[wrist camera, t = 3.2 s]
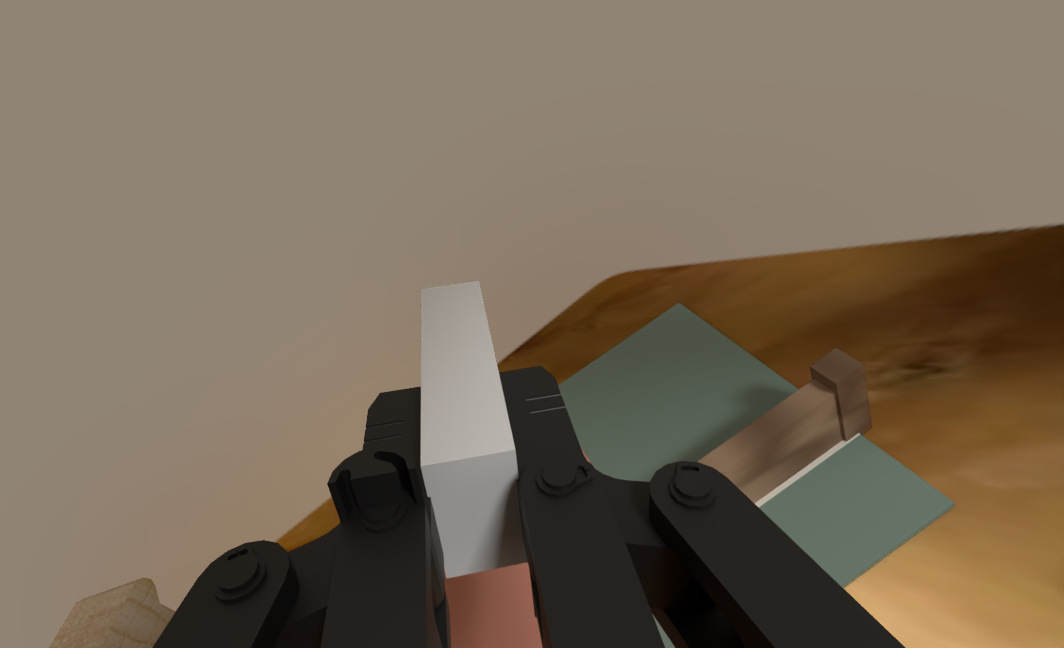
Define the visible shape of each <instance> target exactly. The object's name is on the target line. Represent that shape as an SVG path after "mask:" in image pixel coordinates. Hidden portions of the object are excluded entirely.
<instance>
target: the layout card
mask: <svg viewBox="0 0 1064 648" xmlns="http://www.w3.org/2000/svg"><path fill="white" fill-rule="evenodd" d="M558 387H559V390H560V393H561V396H562V398H563V401H564V403H565V408H566V409H567V411H568V414H569V417H570V420H571V422H572V425H573V428H574V430H575V433H576V436H577V439H578V441H579V444H580V447H581V449H582V450H583V452H584V453H585V455H586V456H587V458H588V459H589V461H590V462H591V464H592V465H593V466H594V468H595V469H596V470H598V471H600V472H601V473H603V474H605V475H608V476H610V477H613V478H617V479H623V480H631V481H644V482H650V480H651V479H652V477H653V475H654V474H655V472H656V471H657V470H659V469H660V468H662V467H663V466H665V465H666V464H670V463H674V462H679V461H689V462H698V461H699V460H700V459H702V458H703V457H705V456H706V455H707V454H709V453H710V452H712V451H713V450H715V449H716V448H717V447H719V446H720V445H722V444H723V443H724V442H726V441H727V440H729V439H730V438H731V437H733V436H734V435H736V434H737V433H739V432H740V431H741V430H743V429H744V428H746V427H747V426H748V425H750V424H751V423H753V422H754V421H756V420H757V419H758V418H760V417H761V416H763V415H764V414H765V413H767V412H768V411H770V410H771V409H772V408H774V407H775V406H777V405H778V404H780V403H781V402H782V401H784V400H785V399H787V398H788V397H789V396H791V395H792V394H794V393H795V392H796V391H798V390H799V389H797V388H796V387H795V386H793V385H792V384H791V383H789V382H788V381H786V380H785V379H784V378H782V377H781V376H780V375H778V374H777V373H775V372H774V371H773V370H771V369H770V368H769V367H767V366H766V365H764V364H763V363H762V362H760V361H759V360H758V359H756V358H755V357H753V356H752V355H751V354H749V353H748V352H747V351H745V350H744V349H742V348H741V347H740V346H738V345H737V344H736V343H734V342H733V341H731V340H730V339H729V338H727V337H726V336H725V335H723V334H722V333H720V332H719V331H718V330H716V329H715V328H714V327H712V326H711V325H709V324H708V323H707V322H705V321H704V320H702V319H701V318H700V317H698V316H697V315H696V314H694V313H693V312H691V311H690V310H689V309H687V308H686V307H685V306H683V305H682V304H680V303H678V304H676V305H675V306H673V307H672V308H670V309H669V310H667V311H666V312H664V313H663V314H661V315H660V316H659V317H657V318H656V319H654V320H653V321H651V322H650V323H648V324H647V325H645V326H644V327H643V328H641V329H640V330H638V331H637V332H635V333H634V334H632V335H631V336H629V337H628V338H626V339H625V340H624V341H622V342H621V343H619V344H618V345H616V346H615V347H613V348H612V349H610V350H609V351H608V352H606V353H605V354H603V355H602V356H600V357H599V358H597V359H596V360H594V361H593V362H591V363H590V364H589V365H587V366H586V367H584V368H583V369H581V370H580V371H578V372H577V373H575V374H574V375H573V376H571V377H570V378H568V379H567V380H565V381H564V382H562V383H561V384H559V385H558ZM755 505H756V506H758V507H759V508H760V509H761V510H762V511H763V512H764V513H765V514H766V515H767V516H768V517H769V518H770V519H771V520H772V521H773V522H774V523H775V524H776V525H777V526H778V527H779V528H781V529H782V530H783V531H784V532H785V533H786V534H787V535H788V536H789V537H790V538H791V539H792V540H793V541H794V542H795V543H796V544H797V545H798V546H799V547H800V548H801V549H803V550H804V551H805V552H806V553H807V554H808V555H809V556H810V557H811V558H812V559H813V560H814V561H815V562H816V563H817V564H818V565H819V566H820V567H821V568H822V569H823V570H824V571H826V572H827V573H828V574H829V575H830V576H831V577H832V578H833V579H834V580H835V581H836V582H837V583H838V584H839V585H840V586H841V587H842V588H844V587H846V586H847V585H848V584H850V583H851V582H852V581H854V580H855V579H856V578H858V577H859V576H860V575H862V574H863V573H865V572H866V571H867V570H869V569H870V568H871V567H873V566H874V565H875V564H877V563H878V562H879V561H881V560H882V559H883V558H885V557H886V556H888V555H889V554H890V553H892V552H893V551H894V550H896V549H897V548H898V547H900V546H901V545H902V544H904V543H905V542H907V541H908V540H909V539H911V538H912V537H913V536H915V535H916V534H917V533H919V532H920V531H921V530H923V529H924V528H925V527H927V526H928V525H930V524H931V523H932V522H934V521H935V520H936V519H938V518H939V517H940V516H942V515H943V514H944V513H946V512H947V511H949V510H950V509H951V508H953V507H954V506H955V503H954V502H953V501H952V500H950V499H949V498H947V497H946V496H945V495H943V494H942V493H941V492H939V491H938V490H936V489H935V488H934V487H932V486H931V485H930V484H928V483H927V482H925V481H924V480H923V479H921V478H920V477H919V476H917V475H916V474H914V473H913V472H912V471H910V470H909V469H908V468H906V467H905V466H903V465H902V464H901V463H899V462H898V461H897V460H895V459H894V458H892V457H891V456H890V455H888V454H887V453H886V452H884V451H883V450H881V449H880V448H879V447H877V446H876V445H875V444H873V443H872V442H870V441H869V440H868V439H866V438H865V437H864V436H862V435H861V434H860V433H858V434H857V435H855V436H854V437H852V438H851V439H850V440H848V441H847V442H846V441H845V440H842V441H841V442H840V443H838V444H837V445H835V446H834V447H833V448H831V449H830V450H828V451H827V452H826V453H824V454H823V455H822V456H820V457H819V458H817V459H816V460H815V461H813V462H812V463H810V464H809V465H808V466H806V467H805V468H803V469H802V470H801V471H799V472H798V473H796V474H795V475H794V476H792V477H791V478H790V479H788V480H787V481H785V482H784V483H783V484H781V485H780V486H778V487H777V488H776V489H774V490H773V491H771V492H770V493H769V494H767V495H766V496H764V497H763V498H762V499H760V500H759V501H758V502H756V503H755ZM653 617H654V615H653ZM654 620H655V622H656V625H657V627H658V630H659V633H660V635H661V638H662V641H663V643H664V646H665V648H675V647H674V645H673V644H672V642H671V641H670V639H669V638H668V636H667V635H666V633H665V632H664V630H663V629H662V627H661V626H660V624H659V623H658V621H657V620H656V618H655V617H654Z"/></svg>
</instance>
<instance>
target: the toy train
mask: <svg viewBox="0 0 1064 648" xmlns="http://www.w3.org/2000/svg"><path fill="white" fill-rule="evenodd" d="M175 612H176V611H173V610H171V609H169V608H167V607H165V606H163V605H161V604H159V599H158V595H157V591H156V587H155V585H154V583H153V582H152V580H151V579H148V578H142V579H139V580H136V581H133V582H131V583H127V584H125V585H122V586H119V587H116V588H113V589H110V590H108V591H105V592H102V593H99V594H96V595H93V596H91V597H88V598H85V599H82V600H81V601H79V602H77V603H76V604H75V606H74V607H73V609H72V611H71V612H70V614H69V616H68V617H67V619H66V620H65V622H64V624H63V625H62V627H61V629H60V631H59V632H58V634H57V636H56V637H55V639H54V641H53V642H52V644H51V645H50V647H49V648H152V647H153V646H154V644H155V643H156V641H157V640H158V638H159V636H160V635H161V633H162V632H163V630H164V629H165V627H166V626H167V624H168V623H169V621H170V620H171V618H172V617H173V615H174V614H175Z"/></svg>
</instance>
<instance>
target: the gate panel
mask: <svg viewBox="0 0 1064 648" xmlns="http://www.w3.org/2000/svg"><path fill="white" fill-rule="evenodd" d="M582 452H583V450H582ZM583 454H584V456H585V458H586V460H587V461H588V462H590V461H589V459H588V458H587V456H586V455H585V453H584V452H583ZM590 463H591V462H590ZM444 576H445V591H446V596H447V600H448V604H449V610H450V631H451V648H543V647H542V642H541V637H540V631H539V626H538V621H537V617H535V614H534V605H533V597H532V588H531V579H530V571H529V565H528V562H527V563H522V564H517V565H512V566H507V567H502V568H497V569H492V570H487V571H482V572H477V573H472V574H467V575H462V576H457V577H452V578H446V574H445V569H444Z"/></svg>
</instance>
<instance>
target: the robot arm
mask: <svg viewBox="0 0 1064 648" xmlns="http://www.w3.org/2000/svg"><path fill="white" fill-rule="evenodd" d="M327 484H328V487H329V490H330V493H331V496H332V498H333V501H334V504H335V507H336V510H337V513H338V515H339V518H340V521H341V523H340V524H339V525H338V526H336V527H335V528H334V529H332V530H331V531H330V532H329V533H327V534H325V535H323V536H322V537H320V538H318V539H316V540H314V541H312V542H310V543H307V544H305V545H303V546H301V547H298V548H296V549H294V550H292V551H289V552H287V551H286V550H285V549H284V548H283V547H281V546H280V545H279V544H278V543H275V542H270V541H265V540H262V541H256V542H249V543H245V544H243V545H240V546H238V547H236V548H233V549H231V550H229V551H227V552H226V553H224V554H223V555H221V556H220V557H219V558H217V559H216V560H215V561H213V562H212V563H211V564H210V565H209V566H208V567H207V568H206V569H205V571H204V572H203V573H202V574H201V575H200V576H199V577H198V579H197V580H196V582H195V583H194V585H193V587H192V588H191V590H190V591H189V592H188V594H187V596H186V597H185V598H184V600H183V602H182V603H181V605H180V606H179V608H178V609H177V611H176V612H175V614H174V615H173V617H172V618H171V620H170V621H169V623H168V624H167V626H166V627H165V629H164V630H163V632H162V633H161V635H160V636H159V638H158V640H157V641H156V643H155V644H154V646H153V647H152V648H451V631H450V610H449V604H448V600H447V596H446V591H445V576H444V569H445V574H446V578H452V577H457V576H462V575H467V574H472V573H477V572H482V571H487V570H492V569H497V568H502V567H507V566H512V565H517V564H522V563H527V562H528V565H529V571H530V579H531V588H532V597H533V605H534V614H535V617H537V621H538V626H539V631H540V637H541V642H542V647H543V648H665V646H664V643H663V641H662V638H661V635H660V633H659V630H658V627H657V625H656V622H655V620H654V617H655V618H656V620H657V621H658V623H659V624H660V626H661V627H662V629H663V630H664V632H665V633H666V635H667V636H668V638H669V639H670V641H671V642H672V644H673V645H674V647H675V648H905V647H904V646H903V645H902V644H901V643H900V642H899V641H898V640H897V639H896V638H895V637H894V636H892V635H891V634H890V633H889V632H888V631H887V630H886V629H885V628H884V627H883V626H882V625H881V624H880V623H879V622H878V621H877V620H876V619H875V618H874V617H873V616H872V615H871V614H869V613H868V612H867V611H866V610H865V609H864V608H863V607H862V606H861V605H860V604H859V603H858V602H857V601H856V600H855V599H854V598H853V597H852V596H851V595H850V594H849V593H847V592H846V591H845V590H844V589H843V588H842V587H841V586H840V585H839V584H838V583H837V582H836V581H835V580H834V579H833V578H832V577H831V576H830V575H829V574H828V573H827V572H826V571H824V570H823V569H822V568H821V567H820V566H819V565H818V564H817V563H816V562H815V561H814V560H813V559H812V558H811V557H810V556H809V555H808V554H807V553H806V552H805V551H804V550H803V549H801V548H800V547H799V546H798V545H797V544H796V543H795V542H794V541H793V540H792V539H791V538H790V537H789V536H788V535H787V534H786V533H785V532H784V531H783V530H782V529H781V528H779V527H778V526H777V525H776V524H775V523H774V522H773V521H772V520H771V519H770V518H769V517H768V516H767V515H766V514H765V513H764V512H763V511H762V510H761V509H760V508H759V507H758V506H756V505H755V504H754V503H753V502H752V501H751V500H750V499H749V498H748V497H747V496H746V495H745V494H744V493H743V492H742V491H741V490H740V489H739V488H738V487H737V486H736V485H735V484H733V483H732V482H731V481H730V480H729V479H728V478H727V477H726V476H725V475H723V474H722V473H720V472H719V471H718V470H716V469H715V468H713V467H710V466H707V465H705V464H702V463H699V462H689V461H679V462H674V463H670V464H666V465H665V466H663V467H662V468H660V469H659V470H657V471H656V472H655V474H654V475H653V477H652V479H651V480H650V482H644V481H631V480H623V479H617V478H613V477H610V476H608V475H605V474H603V473H601V472H600V471H598V470H596V469H595V468H594V466H593V465H592V464H591V463H590V462H588V461H587V460H586V458H585V456H584V454H583V452H582V449H581V447H580V444H579V441H578V439H577V436H576V433H575V430H574V428H573V425H572V422H571V420H570V417H569V414H568V411H567V409H566V408H565V403H564V401H563V398H562V396H561V393H560V390H559V387H558V384H557V382H556V379H555V377H554V376H552V375H551V374H550V373H549V372H548V371H546V370H545V369H544V368H543V367H542V366H538V367H531V368H525V369H519V370H512V371H506V372H500V373H499V371H498V366H497V362H496V357H495V353H494V348H493V343H492V339H491V334H490V329H489V325H488V320H487V316H486V311H485V306H484V302H483V297H482V293H481V288H480V283H479V281H475V282H468V283H461V284H454V285H447V286H439V287H433V288H424V289H422V291H421V387H415V388H409V389H403V390H397V391H390V392H384V393H380V394H379V395H378V397H377V398H376V400H375V401H374V402H373V404H372V405H371V406H370V408H369V409H368V415H367V423H366V430H365V436H364V444H363V450H362V451H359V452H357V453H355V454H353V455H352V456H350V457H348V458H347V459H345V460H344V461H343V462H342V463H341V464H340V465H339V466H338V467H337V468H336V469H335V470H334V471H333V472H332V474H331V477H330V479H329V481H328V483H327ZM653 615H654V617H653Z"/></svg>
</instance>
